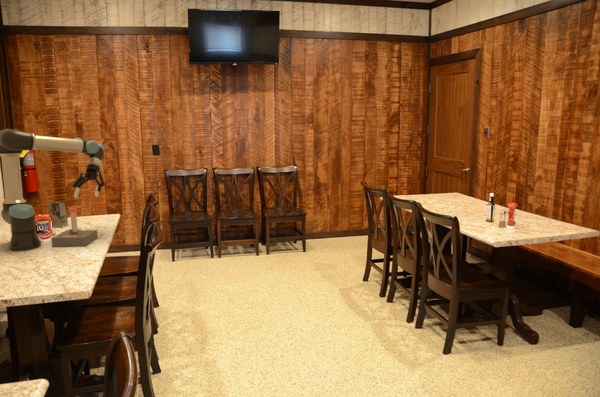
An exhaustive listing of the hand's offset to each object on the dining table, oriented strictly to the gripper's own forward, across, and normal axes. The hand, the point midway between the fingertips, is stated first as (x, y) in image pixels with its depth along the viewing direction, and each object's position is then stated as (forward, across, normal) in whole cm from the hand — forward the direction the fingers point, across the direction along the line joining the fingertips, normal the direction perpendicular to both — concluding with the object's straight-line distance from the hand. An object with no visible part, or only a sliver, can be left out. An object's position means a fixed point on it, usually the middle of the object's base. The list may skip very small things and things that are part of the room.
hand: (85, 196), depth 282 cm
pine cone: (+14, +43, -16) cm, 48 cm away
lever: (+24, +1, 0) cm, 24 cm away
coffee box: (+4, +38, -30) cm, 49 cm away
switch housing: (+28, +1, -3) cm, 28 cm away
